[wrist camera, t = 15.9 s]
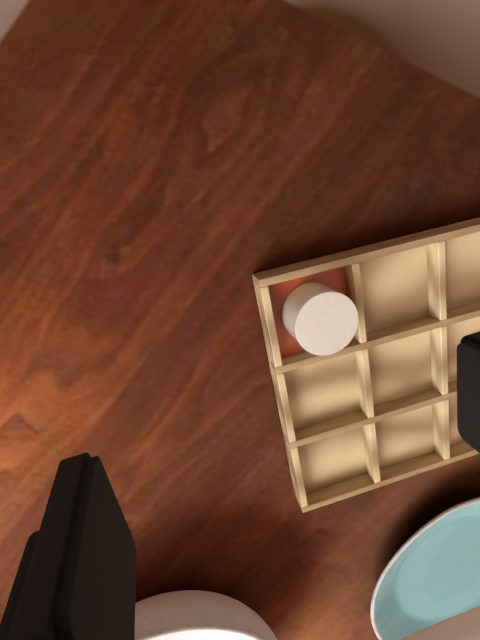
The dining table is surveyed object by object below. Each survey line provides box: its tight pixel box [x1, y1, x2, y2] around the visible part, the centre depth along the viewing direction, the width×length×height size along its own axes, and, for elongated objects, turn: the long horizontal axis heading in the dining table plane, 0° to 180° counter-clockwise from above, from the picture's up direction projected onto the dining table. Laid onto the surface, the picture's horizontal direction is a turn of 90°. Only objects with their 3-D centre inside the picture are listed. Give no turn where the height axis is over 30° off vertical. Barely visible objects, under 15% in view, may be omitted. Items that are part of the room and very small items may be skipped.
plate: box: [370, 497, 480, 640], centre depth 44 cm, size 22×22×3 cm
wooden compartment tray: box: [252, 217, 480, 513], centre depth 35 cm, size 22×22×2 cm
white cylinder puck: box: [282, 282, 358, 356], centre depth 30 cm, size 5×5×3 cm
